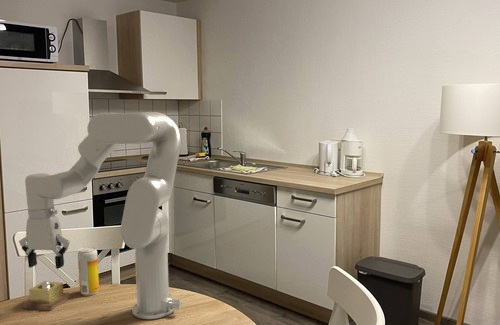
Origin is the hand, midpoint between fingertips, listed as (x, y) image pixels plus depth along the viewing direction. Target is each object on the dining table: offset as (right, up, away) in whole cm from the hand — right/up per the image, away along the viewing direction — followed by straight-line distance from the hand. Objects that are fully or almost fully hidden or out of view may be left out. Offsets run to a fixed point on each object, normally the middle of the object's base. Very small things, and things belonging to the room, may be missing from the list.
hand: (46, 266), depth 149 cm
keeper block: (0, -12, +2) cm, 12 cm away
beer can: (+11, -11, +9) cm, 18 cm away
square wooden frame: (0, -10, +1) cm, 10 cm away
